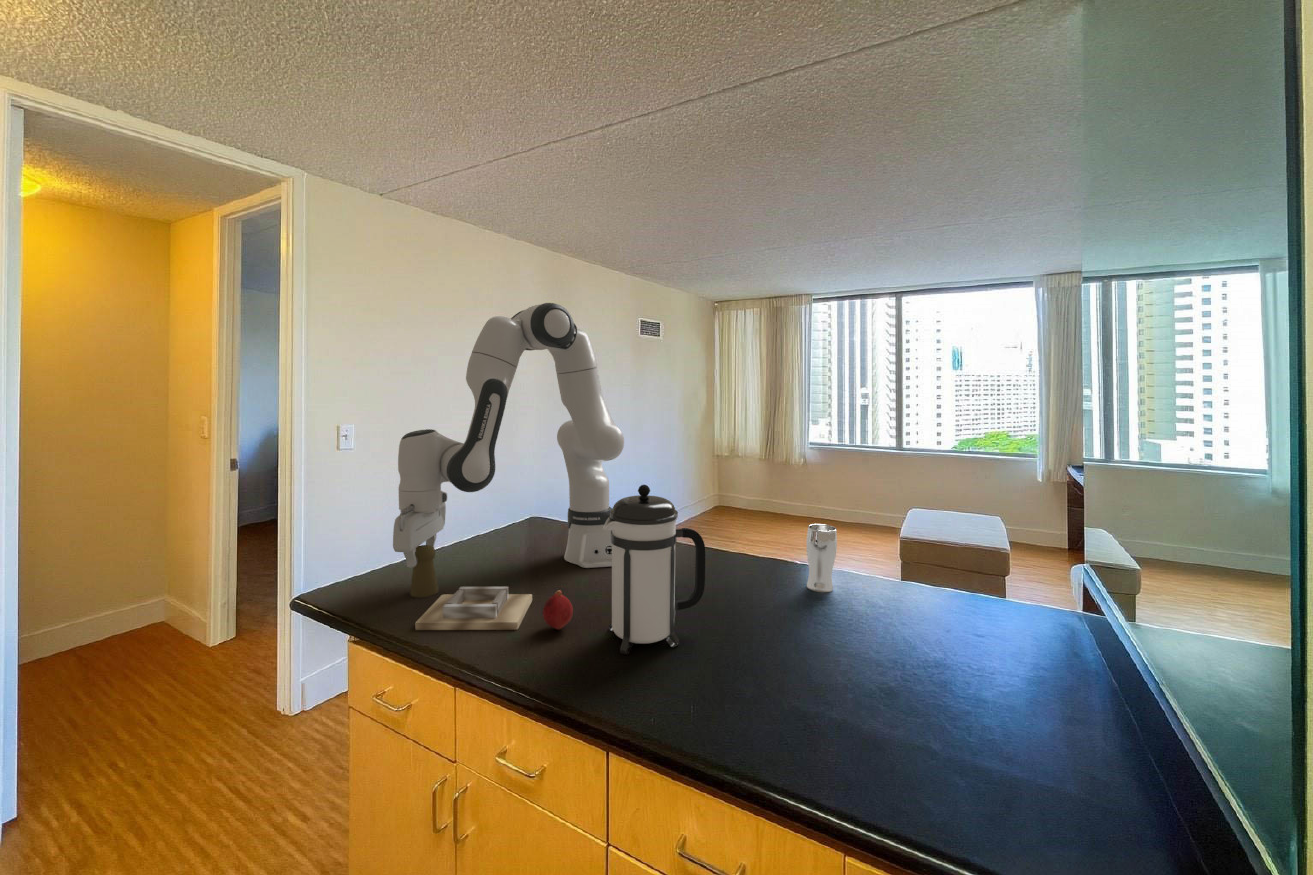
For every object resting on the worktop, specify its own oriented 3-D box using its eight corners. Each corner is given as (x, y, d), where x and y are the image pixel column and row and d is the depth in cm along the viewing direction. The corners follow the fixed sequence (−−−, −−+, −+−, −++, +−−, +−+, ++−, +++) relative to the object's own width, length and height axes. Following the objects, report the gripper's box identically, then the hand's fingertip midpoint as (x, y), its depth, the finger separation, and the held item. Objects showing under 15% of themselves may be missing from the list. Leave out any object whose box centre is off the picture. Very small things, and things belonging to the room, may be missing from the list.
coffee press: (660, 668, 89) (662, 497, 86) (588, 643, 98) (587, 486, 95) (705, 629, 104) (708, 481, 101) (639, 610, 112) (640, 473, 109)
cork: (443, 587, 124) (442, 542, 123) (429, 598, 118) (428, 550, 117) (419, 586, 124) (417, 541, 123) (404, 596, 118) (402, 549, 117)
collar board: (532, 600, 117) (531, 583, 117) (517, 629, 103) (517, 610, 103) (442, 600, 116) (441, 583, 116) (415, 630, 102) (414, 610, 102)
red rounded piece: (547, 638, 99) (547, 598, 99) (539, 626, 104) (539, 587, 104) (576, 632, 102) (576, 593, 101) (567, 620, 107) (567, 583, 106)
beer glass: (803, 590, 124) (805, 529, 123) (806, 580, 131) (808, 522, 129) (833, 595, 122) (836, 532, 120) (835, 584, 128) (838, 525, 127)
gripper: (414, 511, 109) (415, 575, 110) (450, 492, 129) (450, 546, 130) (383, 510, 108) (385, 575, 110) (424, 491, 129) (425, 546, 130)
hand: (421, 559), depth 120 cm, fingers open, 8 cm apart
